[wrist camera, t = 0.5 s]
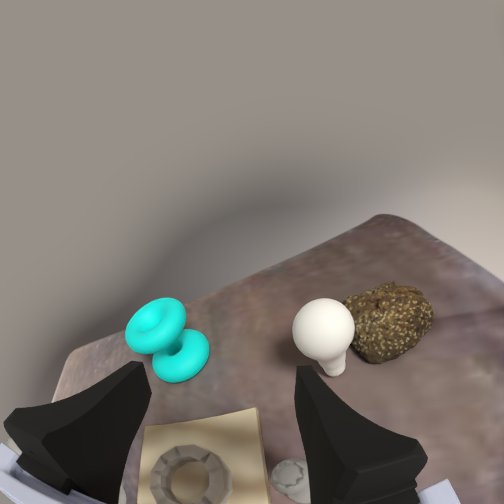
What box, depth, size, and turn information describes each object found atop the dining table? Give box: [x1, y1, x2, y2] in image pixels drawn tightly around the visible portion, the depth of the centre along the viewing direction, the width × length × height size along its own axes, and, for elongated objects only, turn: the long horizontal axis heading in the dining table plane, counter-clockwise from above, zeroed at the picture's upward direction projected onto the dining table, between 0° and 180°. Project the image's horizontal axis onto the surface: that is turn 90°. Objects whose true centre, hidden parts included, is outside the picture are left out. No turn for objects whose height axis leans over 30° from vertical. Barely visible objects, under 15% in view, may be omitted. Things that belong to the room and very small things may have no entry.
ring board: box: [137, 407, 272, 504], centre depth 20 cm, size 18×16×3 cm
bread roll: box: [343, 281, 434, 364], centre depth 30 cm, size 13×12×5 cm
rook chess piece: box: [271, 458, 311, 504], centre depth 16 cm, size 4×4×8 cm
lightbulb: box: [292, 298, 355, 376], centre depth 26 cm, size 6×6×11 cm
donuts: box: [125, 298, 210, 383], centre depth 37 cm, size 10×10×10 cm
